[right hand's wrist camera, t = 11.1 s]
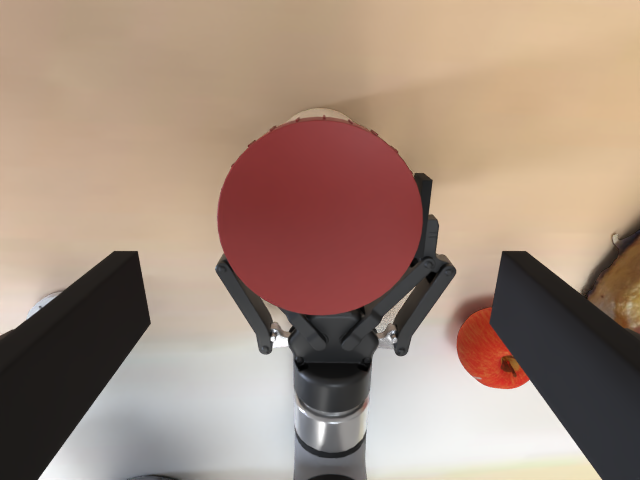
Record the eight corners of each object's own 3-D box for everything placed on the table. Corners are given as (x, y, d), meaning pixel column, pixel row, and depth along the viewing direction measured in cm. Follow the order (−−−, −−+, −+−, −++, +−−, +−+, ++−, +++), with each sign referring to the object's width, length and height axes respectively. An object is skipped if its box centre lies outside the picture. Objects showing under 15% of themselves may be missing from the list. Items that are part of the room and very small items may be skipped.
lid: (439, 141, 20) (454, 147, 17) (383, 309, 23) (389, 333, 21) (242, 93, 19) (232, 93, 17) (215, 275, 22) (203, 295, 20)
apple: (468, 367, 46) (498, 422, 38) (435, 319, 43) (459, 367, 36) (532, 334, 44) (575, 384, 37) (500, 282, 42) (539, 324, 34)
